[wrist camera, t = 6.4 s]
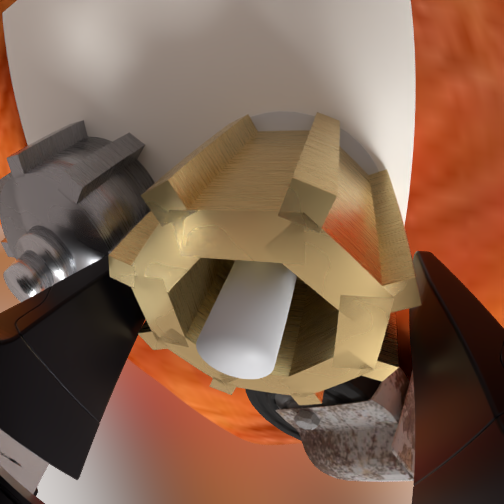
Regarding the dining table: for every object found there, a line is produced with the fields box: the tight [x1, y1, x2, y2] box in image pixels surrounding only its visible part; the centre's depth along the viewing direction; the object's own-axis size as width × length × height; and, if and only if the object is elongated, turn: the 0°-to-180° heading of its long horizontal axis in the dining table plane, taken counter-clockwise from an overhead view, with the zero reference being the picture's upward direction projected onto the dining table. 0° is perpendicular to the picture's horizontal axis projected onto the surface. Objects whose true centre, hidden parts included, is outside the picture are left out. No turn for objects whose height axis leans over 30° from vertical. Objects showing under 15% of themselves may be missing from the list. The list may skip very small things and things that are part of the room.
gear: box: [0, 120, 155, 302], centre depth 11 cm, size 8×8×6 cm
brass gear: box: [108, 112, 421, 405], centre depth 9 cm, size 7×7×5 cm
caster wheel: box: [246, 367, 415, 482], centre depth 16 cm, size 7×11×10 cm
